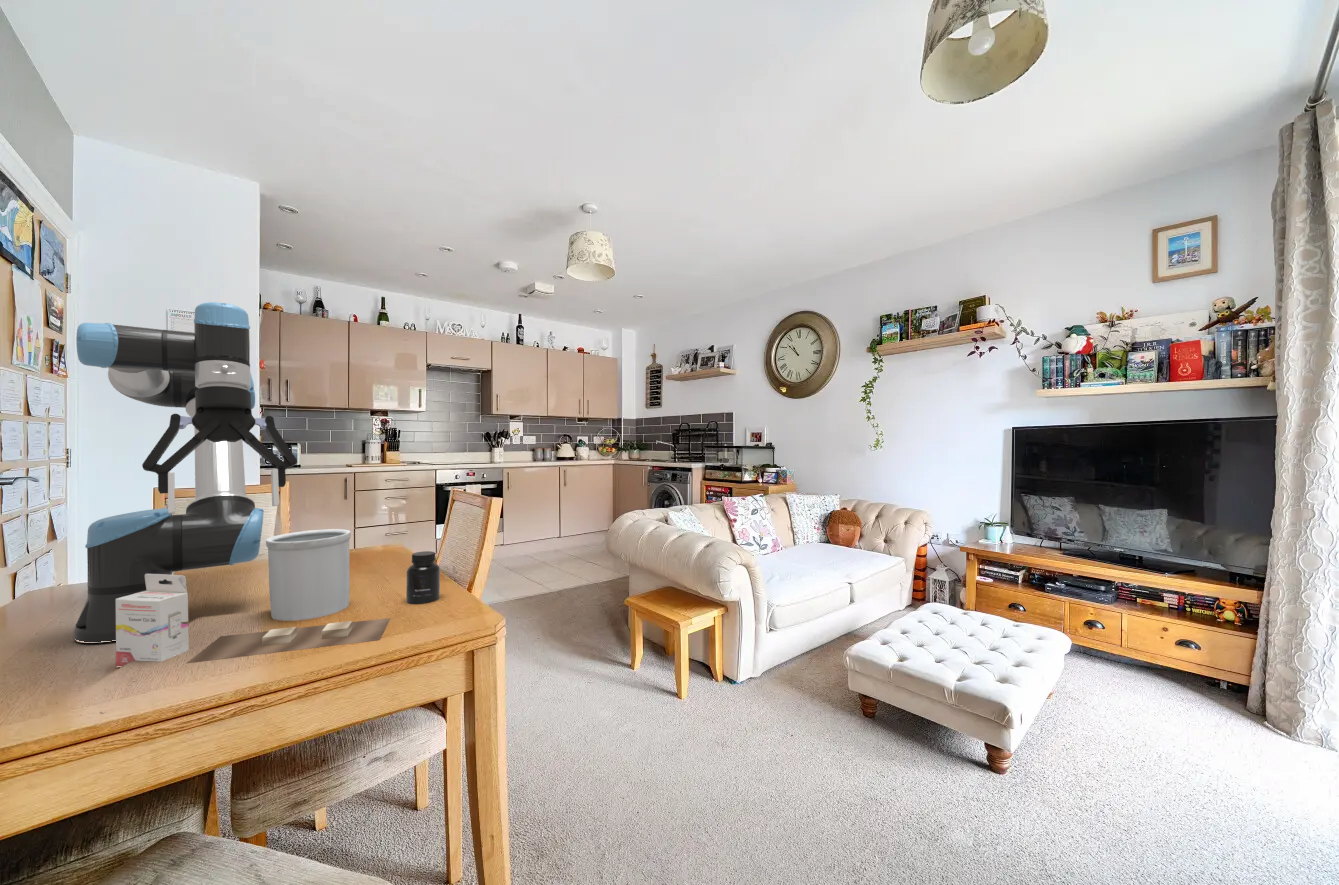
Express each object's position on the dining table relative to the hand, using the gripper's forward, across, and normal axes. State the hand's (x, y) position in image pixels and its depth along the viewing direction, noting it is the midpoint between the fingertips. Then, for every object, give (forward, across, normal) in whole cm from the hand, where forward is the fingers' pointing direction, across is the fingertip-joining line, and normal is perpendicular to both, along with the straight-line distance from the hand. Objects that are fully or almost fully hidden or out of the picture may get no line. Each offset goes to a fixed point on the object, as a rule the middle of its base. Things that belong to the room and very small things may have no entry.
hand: (226, 509), depth 89 cm
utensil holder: (+23, +14, +20) cm, 34 cm away
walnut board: (+26, +10, +3) cm, 28 cm away
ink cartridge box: (+24, -9, +11) cm, 28 cm away
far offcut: (+25, +16, 0) cm, 29 cm away
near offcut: (+24, +7, +4) cm, 25 cm away
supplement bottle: (+24, +34, +11) cm, 43 cm away
